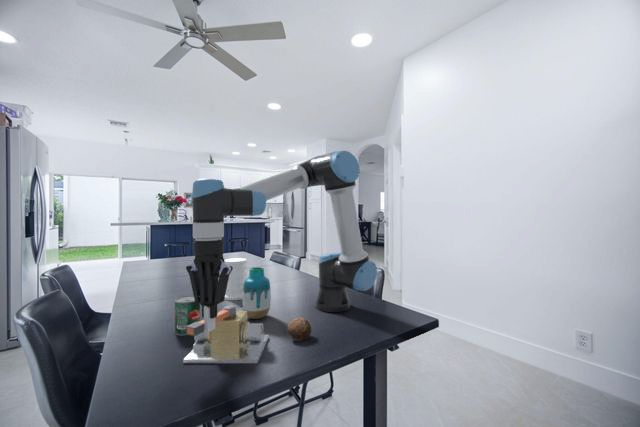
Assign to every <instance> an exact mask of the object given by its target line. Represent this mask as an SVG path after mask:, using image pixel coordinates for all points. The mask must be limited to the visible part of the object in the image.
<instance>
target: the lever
mask: <svg viewBox="0 0 640 427" xmlns="http://www.w3.org/2000/svg"><path fill="white" fill-rule="evenodd" d="M236 311H237V306H236V305H226V306H224V307H223V309H222V310H220V311H217V317H215V323H217V322H219V321H221V320H223V319H224V318H232V317H235V316H236ZM202 332H204V318H203V319H200V321H199V322H194V323H192V324H190V325H188V326H186V335H185V336H192V337H194V336H196V335H198V334H200V333H202Z"/></svg>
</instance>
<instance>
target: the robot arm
mask: <svg viewBox="0 0 640 427" xmlns="http://www.w3.org/2000/svg"><path fill="white" fill-rule="evenodd" d="M360 171H361V169H360V164H359V162H358V159H357V158H356V156H355V154H354V155H353V153H352V152H351V151H348V150H336V151H333V152H329V153H326V154H325V153H324V154H322V155H317V156H314V157H312V158H310V159H308V160H306V161H304V162H302V163H300V164H296V165H294V166H293V167H292V168H291V169H290V170H287V171H284V172H282V173H281V172H279V173H277V174H275V175H271V176H269V177H266V178H262V179H260V180H257V181H254V182H251V183H248V184H244V185H242V186H238V187H236V188H226V187H225V185H224V182H223V180H221V179H215V178H199V179H196V180H195V181H193V183H192V191H191V192H192V193H191V194H192V196H191V200H192V202H191V203H192V204H191V205H192V238H193V239H194V240H193V242H192V254H193V255H194V259H193V263H191V264H190V265H187V266H186V267H185V270H186V271H187V273H188V275H189V281H190V285H191V290H192V296H194V300H195V302H196V303H200V306H201V317H202V318H203V319H204V332H208V333H209V332H210V331H212V330H213V329H215V317H217V313H218V305H219V304H221V303H223V302H225V294H226V289H227V284H228V279H229V275H230V273H231V271H232V269H233V267H232V266H228V265H226V264H225V263H224V262H225V261H224V260H225V258H224V253H225V240H224V239H223V238H224V237H225V224H224V223H225V217H238V216H239V217H243V216H244V217H249V216H250V217H254V216H255V217H256V216H257V217H258V216H262V215H263V214H264V213H265V211H266V207H267V201H269V200H272V199H275V198H277V197H280V196H283V195H284V194H287V193H291V192H292V191H295V190H297V189H301V190H305V189H306V188H307V189H308V188H312V187H316V186H324V190H325V192H326V193H327V194H329V196H330V202H331V205H332V209H333V210H332V212H333V215H334V222H335V225H336V226H335V227H336V232H337V236H338V243H339V246H340V251H341V252H336V253H335V252H334V253H324V254H322V255H320V256H319V257H318V258H319V259H318V261H319V262H318V291H317V295H316V298H315V303H314V307H315V308H316V309H317V310H319V311H322V312H326V313H340V312H346V311H348V310H349V309H350V308H351V301H350V298H349V295H348V291H347V288H349V289H354V290H355V291H361V292H363V291H364V292H365V291H368V290H370V289H371V288H372V286H373V285H374V283H375V281H376V280H377V276H378V267H377V265H376V263H374V262H373V261H372V260H369V259H370V258H369V253H368V252H367V251H366V250H364V248H363V243H362V242H363V241H362V236H361V231H360V225H359V220H358V215H357V214H358V213H357V209H356V203H355V196H354V189H355V187H356V186H357V185H356V180H358V178H359V176H360Z"/></svg>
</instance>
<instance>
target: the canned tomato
mask: <svg viewBox="0 0 640 427" xmlns="http://www.w3.org/2000/svg"><path fill="white" fill-rule="evenodd" d="M199 321H201V304H200V303H196V302H195V300H194V295H186V296H180V297H177V298H176V299H175V300H174V334H175V335H176V336H181V337H183V336H187V335H186V326H188V325H190V324H192V323H194V322H199Z"/></svg>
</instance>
